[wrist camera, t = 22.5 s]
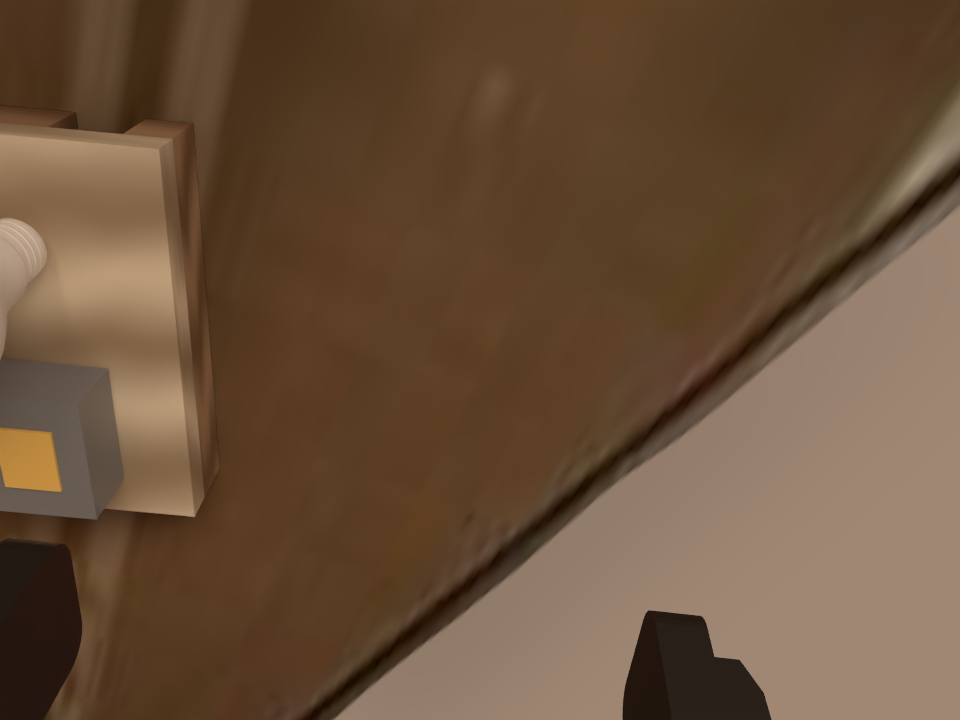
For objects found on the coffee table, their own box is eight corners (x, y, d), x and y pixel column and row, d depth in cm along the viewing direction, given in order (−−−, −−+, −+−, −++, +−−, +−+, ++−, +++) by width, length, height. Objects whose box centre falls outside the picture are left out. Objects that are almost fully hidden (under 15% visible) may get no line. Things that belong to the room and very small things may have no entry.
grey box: (-52, 353, 38) (-97, 390, 36) (108, 368, 38) (76, 406, 36) (-25, 464, 41) (-64, 507, 39) (123, 478, 41) (95, 521, 39)
